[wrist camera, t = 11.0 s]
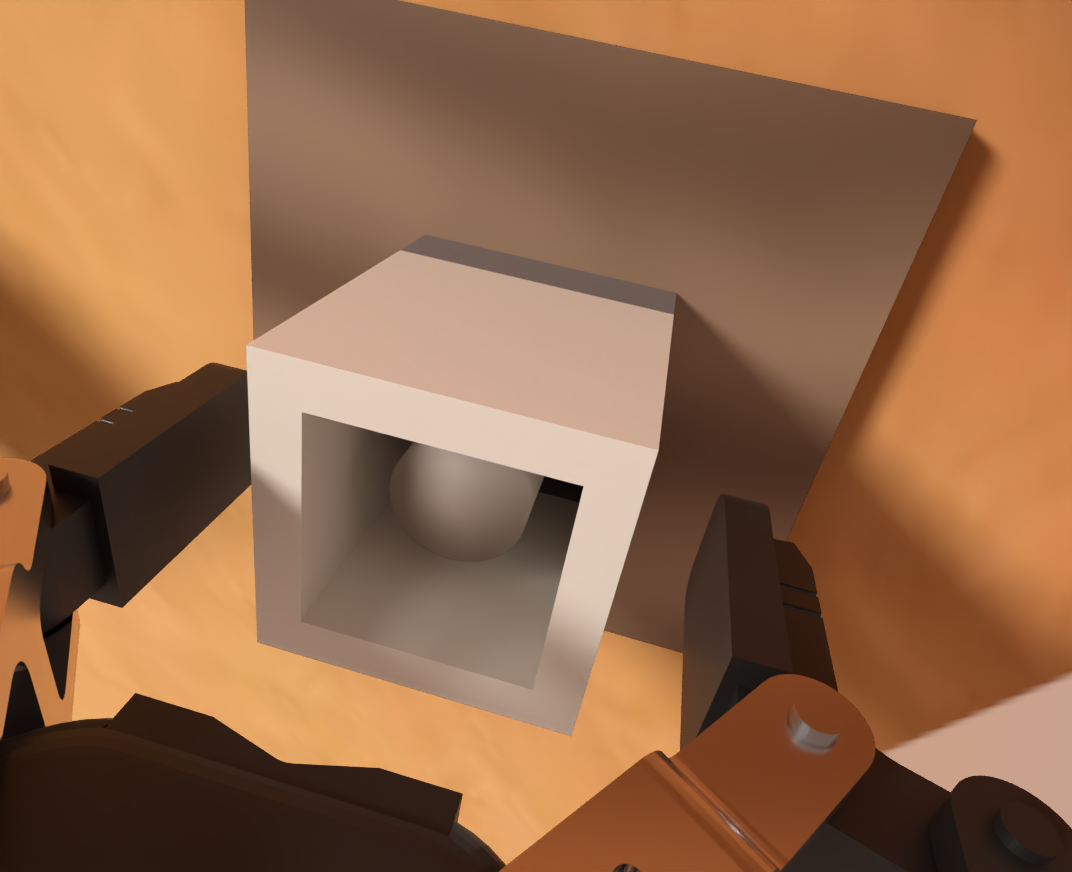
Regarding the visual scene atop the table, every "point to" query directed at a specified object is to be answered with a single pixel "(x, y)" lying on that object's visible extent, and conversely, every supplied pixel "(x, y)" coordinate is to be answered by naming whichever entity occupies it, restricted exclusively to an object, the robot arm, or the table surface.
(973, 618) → the table surface
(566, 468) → the sleeve
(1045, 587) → the table surface
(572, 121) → the pin plate
